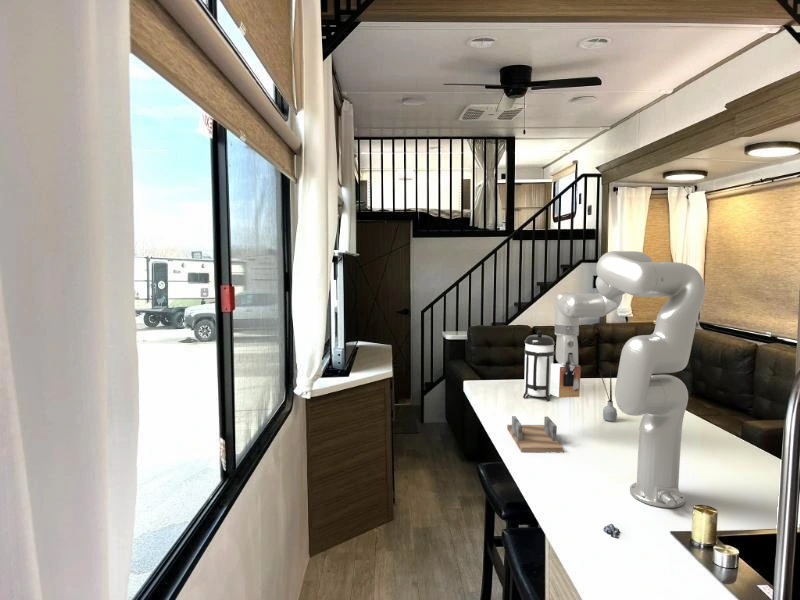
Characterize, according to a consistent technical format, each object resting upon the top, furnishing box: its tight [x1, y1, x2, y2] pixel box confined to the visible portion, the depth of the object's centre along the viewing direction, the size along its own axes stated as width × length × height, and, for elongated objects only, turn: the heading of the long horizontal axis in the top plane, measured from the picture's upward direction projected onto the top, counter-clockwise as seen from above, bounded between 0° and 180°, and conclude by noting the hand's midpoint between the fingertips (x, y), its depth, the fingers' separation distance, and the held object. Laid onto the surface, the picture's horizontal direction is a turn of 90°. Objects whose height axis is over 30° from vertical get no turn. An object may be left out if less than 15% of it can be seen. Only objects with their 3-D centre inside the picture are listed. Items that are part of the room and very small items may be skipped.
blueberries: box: [603, 523, 621, 539], centre depth 112 cm, size 7×8×2 cm
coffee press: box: [522, 329, 556, 402], centre depth 220 cm, size 17×16×30 cm
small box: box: [550, 363, 582, 399], centre depth 167 cm, size 8×6×10 cm
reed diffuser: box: [598, 367, 618, 422], centre depth 190 cm, size 10×7×20 cm
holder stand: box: [506, 415, 564, 454], centre depth 169 cm, size 22×13×6 cm, turn 179°
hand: (564, 382), depth 168 cm, fingers closed on small box, 6 cm apart
